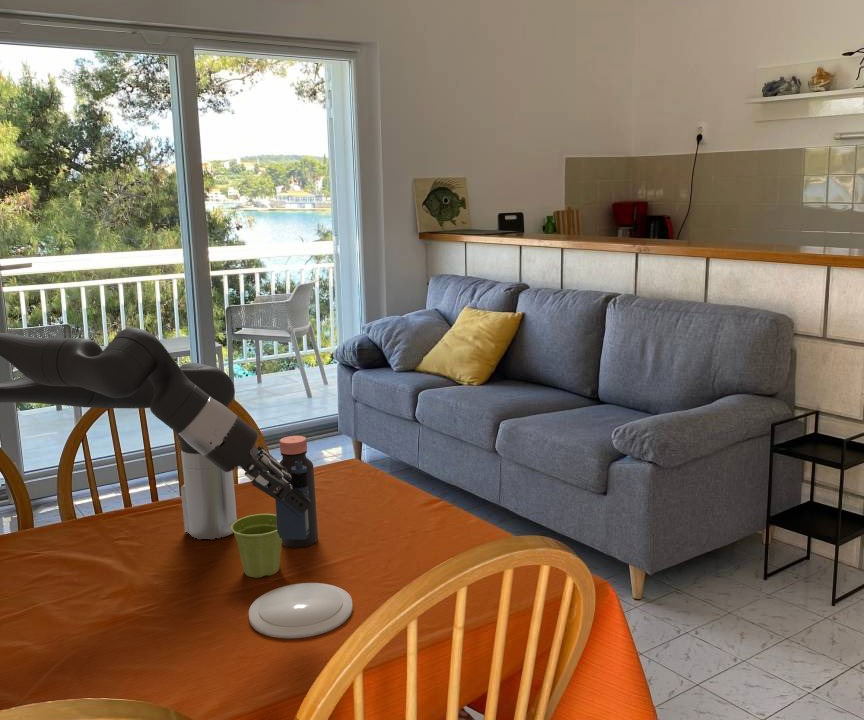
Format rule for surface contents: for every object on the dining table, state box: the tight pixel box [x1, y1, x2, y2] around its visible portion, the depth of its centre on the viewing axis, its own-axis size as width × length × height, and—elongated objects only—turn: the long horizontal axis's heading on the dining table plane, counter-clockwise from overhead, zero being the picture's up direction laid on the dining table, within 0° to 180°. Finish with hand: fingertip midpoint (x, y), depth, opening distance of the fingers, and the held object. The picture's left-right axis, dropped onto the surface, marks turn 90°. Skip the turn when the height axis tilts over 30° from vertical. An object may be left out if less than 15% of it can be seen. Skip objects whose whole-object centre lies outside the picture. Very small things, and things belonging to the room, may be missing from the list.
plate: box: [248, 582, 353, 639], centre depth 134 cm, size 16×16×1 cm
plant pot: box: [231, 513, 282, 579], centre depth 148 cm, size 9×9×9 cm
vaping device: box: [274, 461, 310, 540], centre depth 130 cm, size 3×5×12 cm, turn 79°
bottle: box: [278, 435, 319, 549], centre depth 159 cm, size 7×7×20 cm
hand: (305, 502), depth 131 cm, fingers closed on vaping device, 3 cm apart
